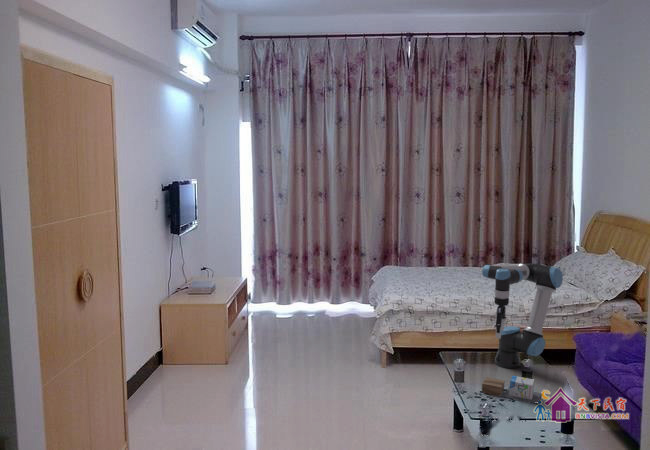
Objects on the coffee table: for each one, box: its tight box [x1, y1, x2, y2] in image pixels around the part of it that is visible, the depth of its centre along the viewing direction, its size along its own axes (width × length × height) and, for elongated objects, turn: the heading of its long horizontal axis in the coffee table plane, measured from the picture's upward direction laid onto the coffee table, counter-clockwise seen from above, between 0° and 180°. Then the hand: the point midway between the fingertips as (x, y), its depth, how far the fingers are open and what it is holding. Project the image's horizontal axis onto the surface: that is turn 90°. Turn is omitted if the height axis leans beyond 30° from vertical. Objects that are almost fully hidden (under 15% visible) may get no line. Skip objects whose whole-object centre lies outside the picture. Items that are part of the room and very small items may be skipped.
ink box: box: [509, 375, 535, 400], centre depth 311 cm, size 8×8×12 cm
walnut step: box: [481, 376, 505, 397], centre depth 317 cm, size 10×10×5 cm
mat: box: [503, 386, 542, 404], centre depth 312 cm, size 14×17×1 cm
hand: (499, 334), depth 321 cm, fingers open, 13 cm apart
